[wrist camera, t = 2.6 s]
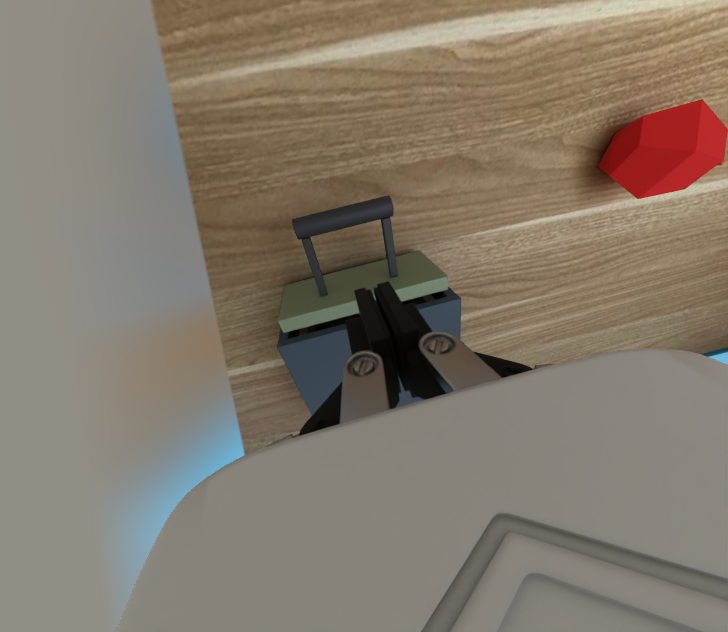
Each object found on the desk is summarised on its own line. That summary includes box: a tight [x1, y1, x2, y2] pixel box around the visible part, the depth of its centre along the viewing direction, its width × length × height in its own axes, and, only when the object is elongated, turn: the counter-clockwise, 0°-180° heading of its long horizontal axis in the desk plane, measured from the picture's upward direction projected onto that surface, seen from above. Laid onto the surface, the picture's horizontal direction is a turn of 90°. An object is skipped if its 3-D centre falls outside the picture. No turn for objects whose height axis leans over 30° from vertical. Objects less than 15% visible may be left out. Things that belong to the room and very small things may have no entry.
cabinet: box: [277, 287, 461, 415], centre depth 28 cm, size 17×15×8 cm
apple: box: [598, 99, 727, 199], centre depth 22 cm, size 7×7×8 cm
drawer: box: [278, 196, 448, 336], centre depth 25 cm, size 22×13×6 cm, turn 11°
